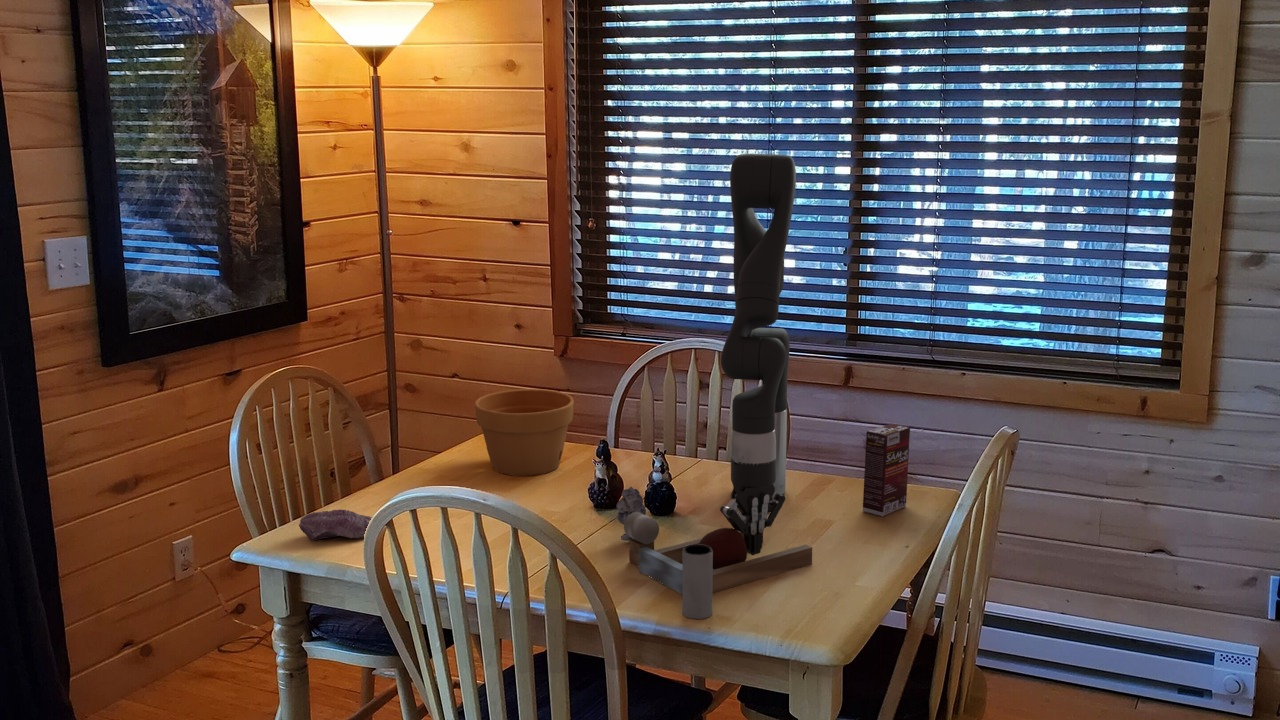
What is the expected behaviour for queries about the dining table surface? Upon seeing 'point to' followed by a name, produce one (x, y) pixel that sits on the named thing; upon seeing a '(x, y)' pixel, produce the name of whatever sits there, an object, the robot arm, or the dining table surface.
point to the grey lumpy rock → (629, 506)
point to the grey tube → (697, 581)
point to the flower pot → (524, 429)
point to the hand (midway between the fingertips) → (752, 552)
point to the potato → (726, 547)
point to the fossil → (334, 524)
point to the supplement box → (886, 469)
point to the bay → (670, 559)
